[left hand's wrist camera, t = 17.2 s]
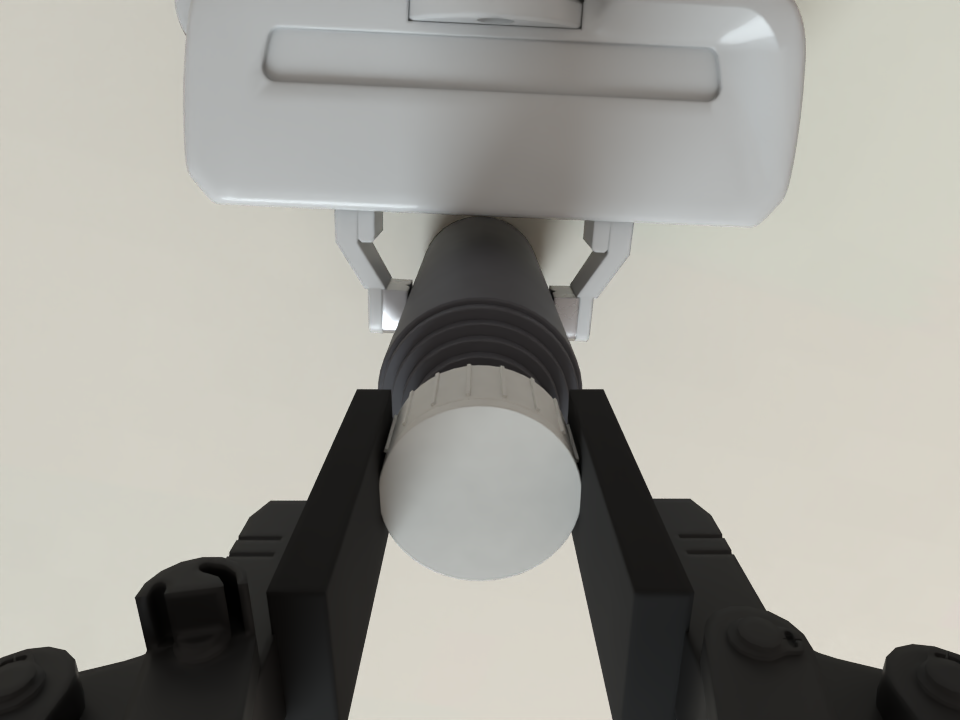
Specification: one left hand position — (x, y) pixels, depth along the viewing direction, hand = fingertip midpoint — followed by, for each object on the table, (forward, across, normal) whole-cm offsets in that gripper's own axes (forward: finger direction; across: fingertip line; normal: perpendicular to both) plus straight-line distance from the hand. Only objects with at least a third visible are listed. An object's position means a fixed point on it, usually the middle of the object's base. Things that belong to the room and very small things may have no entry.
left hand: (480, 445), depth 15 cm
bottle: (+17, 0, 0) cm, 17 cm away
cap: (-2, 0, 0) cm, 2 cm away
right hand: (+11, 0, -1) cm, 11 cm away
